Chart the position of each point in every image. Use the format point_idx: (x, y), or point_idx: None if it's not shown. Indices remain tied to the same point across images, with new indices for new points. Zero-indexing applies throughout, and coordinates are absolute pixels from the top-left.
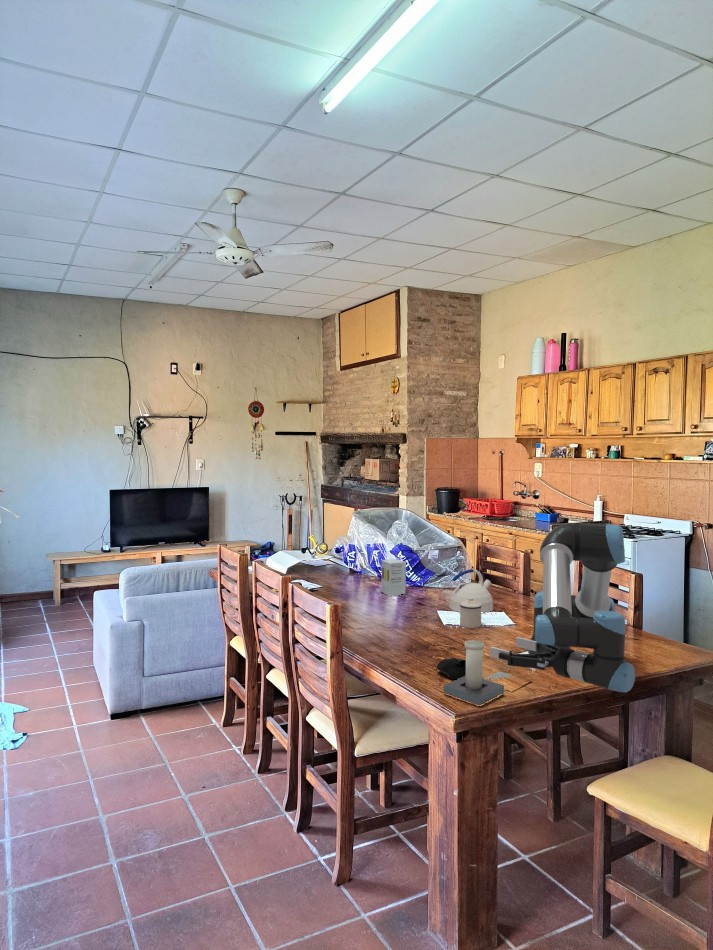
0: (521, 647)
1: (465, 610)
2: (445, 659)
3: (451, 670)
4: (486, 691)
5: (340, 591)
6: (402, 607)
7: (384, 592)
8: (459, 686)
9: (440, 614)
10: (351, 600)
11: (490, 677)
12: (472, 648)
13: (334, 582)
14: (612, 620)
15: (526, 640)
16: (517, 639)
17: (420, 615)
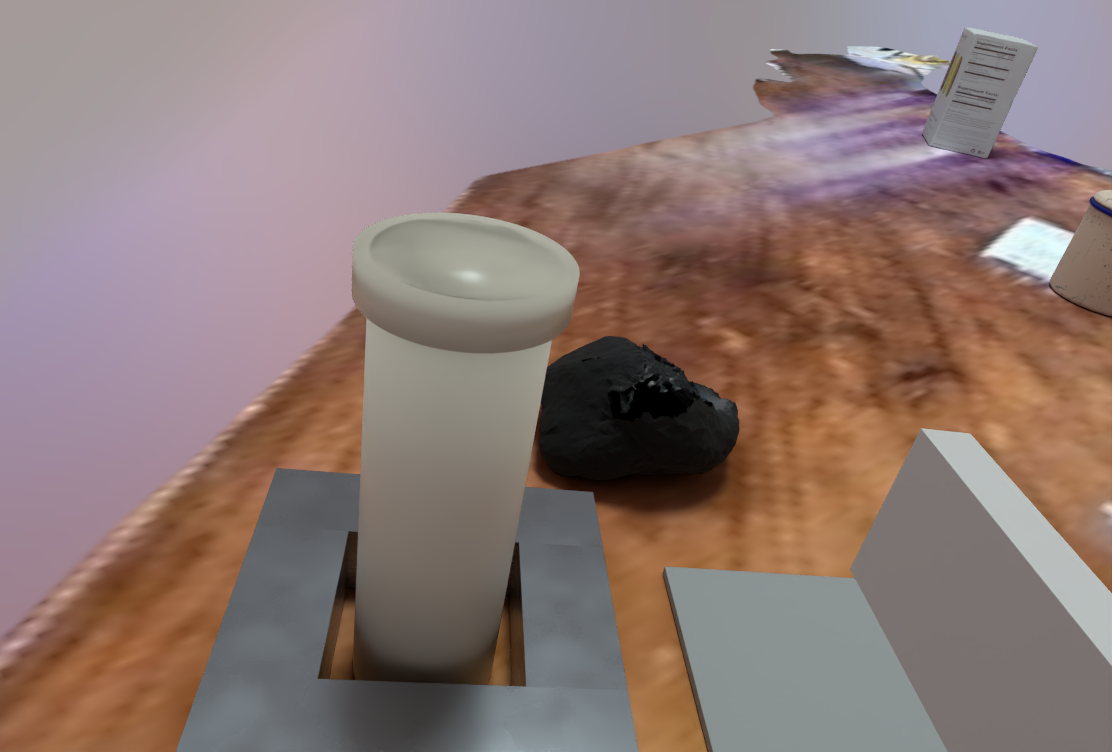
0: (907, 667)
1: (1099, 224)
2: (619, 340)
3: (560, 411)
4: (370, 749)
5: (814, 99)
6: (918, 172)
7: (926, 132)
8: (325, 543)
9: (1022, 229)
10: (801, 116)
11: (781, 591)
12: (356, 288)
13: (839, 87)
14: None
15: (1077, 642)
16: (922, 480)
17: (940, 205)
